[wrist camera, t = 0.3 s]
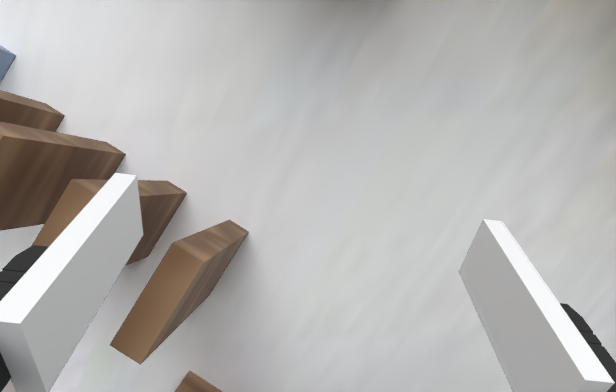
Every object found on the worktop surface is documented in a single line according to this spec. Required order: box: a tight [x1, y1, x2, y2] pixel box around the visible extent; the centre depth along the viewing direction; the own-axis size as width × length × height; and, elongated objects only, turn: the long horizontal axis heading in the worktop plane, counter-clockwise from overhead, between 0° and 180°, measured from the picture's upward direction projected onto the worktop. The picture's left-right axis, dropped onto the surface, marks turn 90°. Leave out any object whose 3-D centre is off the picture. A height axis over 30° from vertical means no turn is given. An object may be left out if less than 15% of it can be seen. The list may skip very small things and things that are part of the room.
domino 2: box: [110, 220, 248, 364], centre depth 25 cm, size 2×6×12 cm, turn 148°
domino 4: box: [0, 122, 126, 230], centre depth 25 cm, size 2×6×12 cm, turn 148°
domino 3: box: [32, 179, 187, 266], centre depth 25 cm, size 2×6×12 cm, turn 148°
